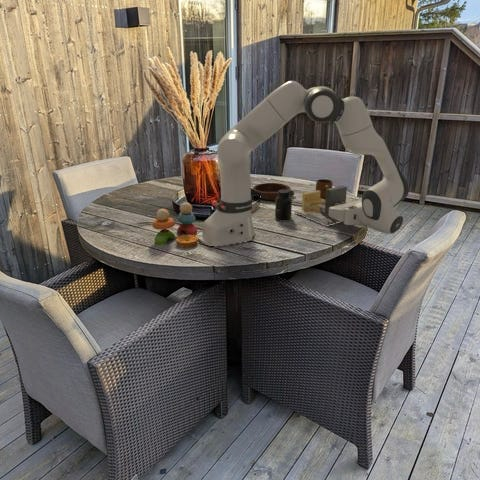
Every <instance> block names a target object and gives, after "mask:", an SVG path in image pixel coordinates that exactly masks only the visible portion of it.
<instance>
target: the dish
mask: <svg viewBox="0 0 480 480" xmlns="http://www.w3.org/2000/svg"><path fill="white" fill-rule="evenodd" d="M253 190H254V192H257V193H259V194H260V196H261V198H262V199H261V200H264V199H265V201H276V198H277V197H278V191H279V190H289V191H290V196H289V197H292V196H294V195H295V191H294V190H291V186H289V185H287V184H284V183H278V182H265V183H259V184H256V185H254V186H253V187H252V191H253Z"/></svg>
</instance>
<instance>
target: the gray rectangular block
mask: <svg viewBox="0 0 480 480" xmlns="http://www.w3.org/2000/svg"><path fill="white" fill-rule="evenodd" d="M347 189H348V187H347V186H346V185H340V186H339V185H338V186H334V187H332V188H329V189H326V202H325V203H324V205H325V210H321V214H322V215H324V216H325V217H327V218H330V219H331V217H329V207H332V206H335V203H337V202H345V203H347V201H346V200H347V193H348V192H347V191H348V190H347Z"/></svg>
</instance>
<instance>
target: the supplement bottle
mask: <svg viewBox="0 0 480 480" xmlns="http://www.w3.org/2000/svg"><path fill="white" fill-rule="evenodd" d="M274 204H275V209H274V219H276V220H277V219H278V221H280V220H287V221H289V219H290V220H291V219H292V212H293V211H292V209H293V206H292V205H293V200H292V196H290V191H289V190H279V191H278V197H277V198H276V200H275V203H274Z"/></svg>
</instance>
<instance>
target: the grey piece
mask: <svg viewBox="0 0 480 480" xmlns="http://www.w3.org/2000/svg"><path fill="white" fill-rule="evenodd" d="M325 202H326V200H324V199H321V198H320V191H319V190H317V191H316V190H313V191H310V192H309V191H308V192H303V193H302V201H301V208H298V209H295V210H294V214H295V213H297V214H300V215H303V216H305V217H308V218H310V219H313V220H315V221H318V222H321V223H323V224H325V225H329V224H333V223H336V222H340V221H338V220H335V219H333V218H331V219H330V218H327V217H325V216H324V215H322V214H321V210H325ZM297 214H296V215H297Z"/></svg>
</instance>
